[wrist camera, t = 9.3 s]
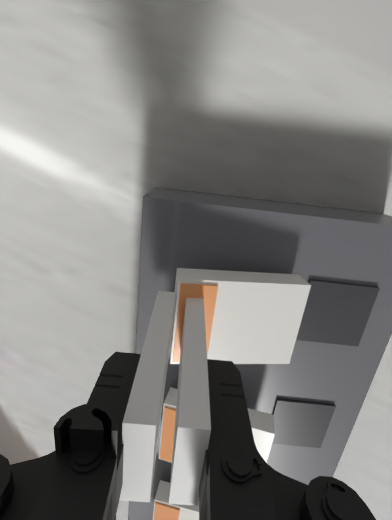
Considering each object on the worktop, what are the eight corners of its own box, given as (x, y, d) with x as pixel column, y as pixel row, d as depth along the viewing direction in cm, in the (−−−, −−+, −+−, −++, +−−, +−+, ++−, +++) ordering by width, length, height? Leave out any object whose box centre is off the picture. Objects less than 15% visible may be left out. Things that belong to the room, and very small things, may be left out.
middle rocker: (274, 414, 16) (274, 435, 14) (259, 469, 17) (258, 492, 16) (170, 387, 17) (163, 404, 16) (164, 440, 18) (157, 460, 17)
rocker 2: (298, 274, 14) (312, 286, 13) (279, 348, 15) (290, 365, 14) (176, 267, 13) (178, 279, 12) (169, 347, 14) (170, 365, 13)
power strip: (494, 226, 18) (590, 250, 13) (362, 497, 26) (394, 564, 22) (155, 187, 17) (140, 198, 13) (138, 477, 26) (125, 541, 22)
